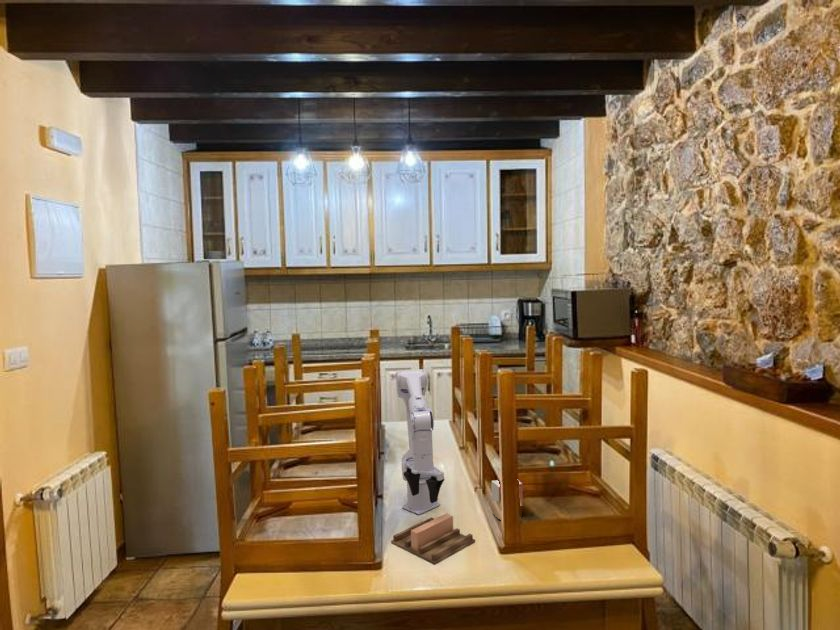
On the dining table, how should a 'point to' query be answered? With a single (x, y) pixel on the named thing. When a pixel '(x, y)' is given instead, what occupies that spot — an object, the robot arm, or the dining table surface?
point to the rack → (434, 544)
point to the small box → (496, 491)
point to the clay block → (431, 531)
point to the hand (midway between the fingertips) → (424, 498)
